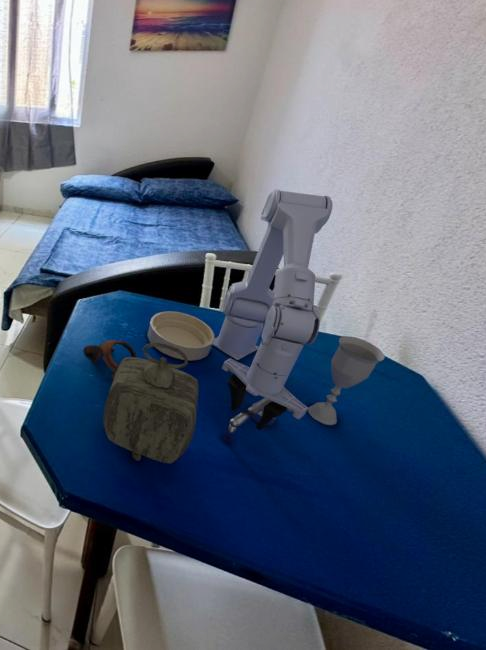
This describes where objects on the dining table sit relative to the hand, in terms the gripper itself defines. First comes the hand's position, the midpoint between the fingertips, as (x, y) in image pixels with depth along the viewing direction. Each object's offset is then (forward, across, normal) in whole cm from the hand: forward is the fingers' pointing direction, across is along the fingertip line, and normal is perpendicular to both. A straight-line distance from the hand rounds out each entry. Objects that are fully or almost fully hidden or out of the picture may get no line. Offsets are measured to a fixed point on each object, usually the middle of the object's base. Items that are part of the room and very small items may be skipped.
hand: (247, 417), depth 79 cm
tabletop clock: (+4, -7, -22) cm, 23 cm away
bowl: (+4, -25, +12) cm, 28 cm away
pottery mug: (+4, -27, -11) cm, 29 cm away
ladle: (+4, 0, +2) cm, 4 cm away
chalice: (+4, +6, +19) cm, 20 cm away
